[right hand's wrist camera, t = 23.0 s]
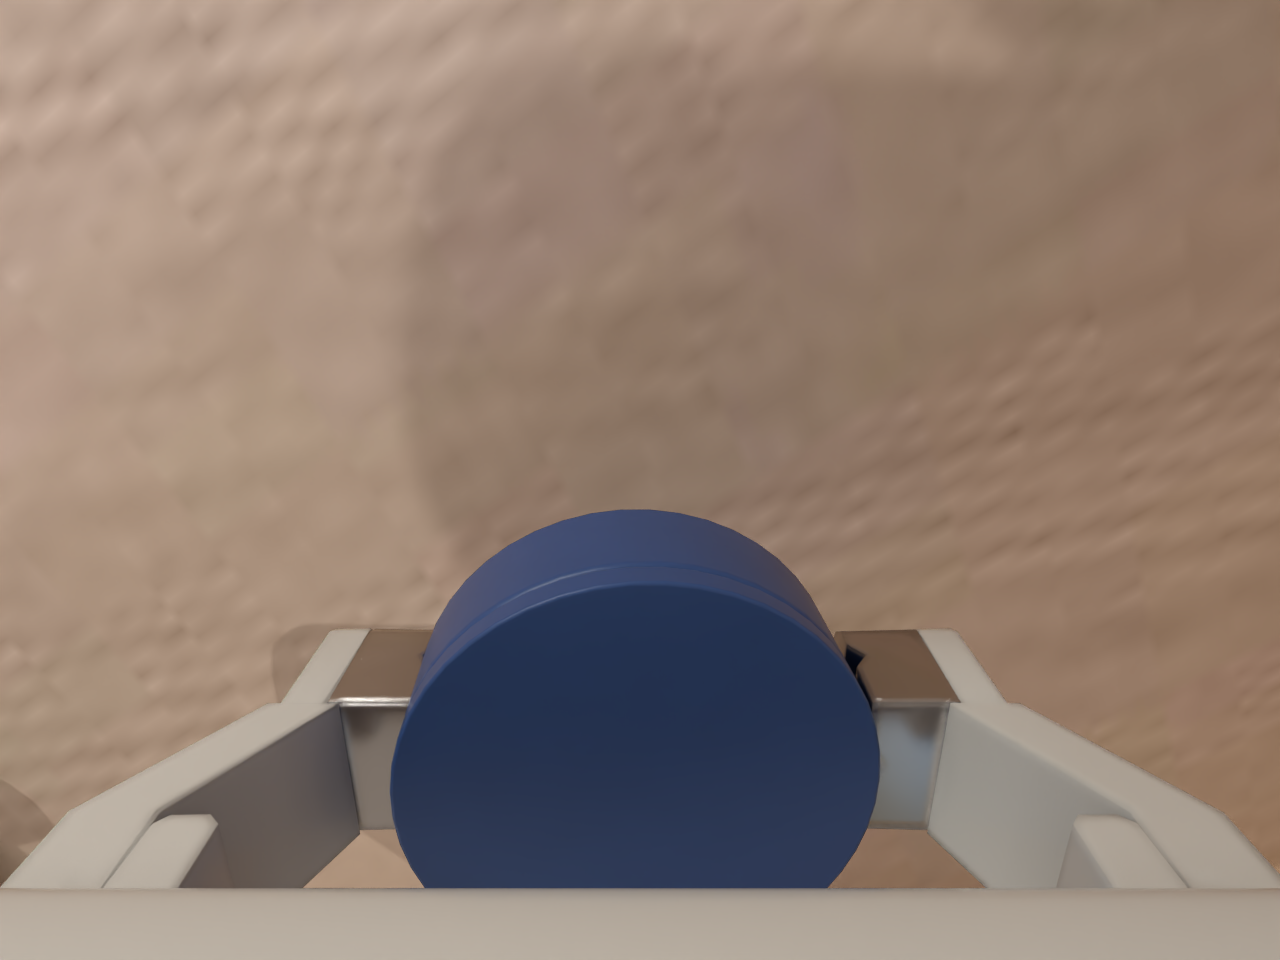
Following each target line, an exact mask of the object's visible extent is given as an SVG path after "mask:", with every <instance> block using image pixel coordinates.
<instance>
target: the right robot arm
mask: <svg viewBox="0 0 1280 960" xmlns="http://www.w3.org/2000/svg"><path fill="white" fill-rule="evenodd" d="M432 633H433V630H405V629H374V630H373V629H371V628H364V629H335V630H332V631H330V632H329V633H328V634H327V636H326V637H325V639H324V640H323V641H322V643H321V644H320V646H319V647H318V649H317V650H316V652H315V653H314V655H313V656H312V658H311V659H310V661H309V662H308V663H307V665H306V666H305V668H304V669H303V671H302V672H301V674H300V675H299V677H298V678H297V680H296V681H295V683H294V684H293V685H292V687H291V688H290V690H289V691H288V693H287V694H286V696H285V697H284V699H283V700H282V702H281V703H268V704H266V705H264V706H262V707H260V708H259V709H257V710H255V711H253V712H251V713H249V714H247V715H246V716H244V717H242V718H240V719H238V720H236V721H234V722H233V723H231V724H229V725H227V726H225V727H223V728H222V729H220V730H218V731H216V732H214V733H212V734H210V735H209V736H207V737H205V738H203V739H201V740H199V741H197V742H196V743H194V744H192V745H190V746H188V747H186V748H184V749H183V750H181V751H179V752H177V753H175V754H173V755H172V756H170V757H168V758H166V759H164V760H162V761H160V762H159V763H157V764H155V765H153V766H151V767H149V768H147V769H146V770H144V771H142V772H140V773H138V774H136V775H134V776H133V777H131V778H129V779H127V780H125V781H123V782H121V783H120V784H118V785H116V786H114V787H112V788H110V789H109V790H107V791H105V792H103V793H101V794H99V795H97V796H96V797H94V798H92V799H90V800H88V801H86V802H84V803H83V804H81V805H79V806H77V807H75V808H73V809H71V810H70V811H68V812H67V813H66V814H65V815H64V817H63V818H62V819H61V820H60V821H59V822H58V823H57V824H56V825H55V827H54V828H53V829H52V830H51V831H50V832H49V833H48V834H47V835H46V837H45V838H44V839H43V840H42V841H41V842H40V843H39V844H38V846H37V847H36V848H35V849H34V850H33V851H32V852H31V853H30V854H29V856H28V857H27V858H26V859H25V860H24V861H23V862H22V863H21V864H20V866H19V867H18V868H17V869H16V870H15V871H14V872H13V873H12V874H11V876H10V877H9V878H8V879H7V880H6V881H5V882H4V883H3V884H2V886H1V887H0V960H1280V874H1279V873H1278V872H1277V871H1276V870H1275V869H1274V867H1273V866H1272V865H1271V864H1270V863H1269V862H1268V861H1267V860H1266V859H1265V858H1264V856H1263V855H1262V854H1261V853H1260V852H1259V851H1258V850H1257V849H1256V848H1255V847H1254V845H1253V844H1252V843H1251V842H1250V841H1249V840H1248V839H1247V838H1246V837H1245V836H1244V834H1243V833H1242V832H1241V831H1240V830H1239V829H1238V828H1237V827H1236V826H1235V824H1234V823H1233V822H1232V821H1231V820H1230V819H1229V818H1228V817H1227V816H1226V815H1225V813H1224V812H1222V811H1220V810H1218V809H1216V808H1214V807H1213V806H1211V805H1209V804H1207V803H1205V802H1203V801H1201V800H1199V799H1198V798H1196V797H1194V796H1192V795H1190V794H1188V793H1186V792H1185V791H1183V790H1181V789H1179V788H1177V787H1175V786H1173V785H1171V784H1170V783H1168V782H1166V781H1164V780H1162V779H1160V778H1158V777H1157V776H1155V775H1153V774H1151V773H1149V772H1147V771H1145V770H1144V769H1142V768H1140V767H1138V766H1136V765H1134V764H1132V763H1130V762H1129V761H1127V760H1125V759H1123V758H1121V757H1119V756H1117V755H1116V754H1114V753H1112V752H1110V751H1108V750H1106V749H1104V748H1102V747H1101V746H1099V745H1097V744H1095V743H1093V742H1091V741H1089V740H1088V739H1086V738H1084V737H1082V736H1080V735H1078V734H1076V733H1075V732H1073V731H1071V730H1069V729H1067V728H1065V727H1063V726H1061V725H1060V724H1058V723H1056V722H1054V721H1052V720H1050V719H1048V718H1047V717H1045V716H1043V715H1041V714H1039V713H1037V712H1035V711H1034V710H1032V709H1030V708H1028V707H1026V706H1024V705H1022V704H1020V703H1007V701H1006V700H1005V698H1004V697H1003V696H1002V694H1001V693H1000V691H999V690H998V689H997V687H996V686H995V684H994V683H993V681H992V680H991V679H990V677H989V676H988V674H987V673H986V672H985V670H984V669H983V667H982V666H981V664H980V663H979V662H978V660H977V659H976V657H975V656H974V655H973V653H972V652H971V650H970V649H969V647H968V646H967V645H966V643H965V642H964V640H963V639H962V637H961V636H960V635H959V633H958V632H957V631H955V630H953V629H951V628H939V629H913V630H879V631H840V632H835V635H834V640H835V642H836V643H837V645H838V647H839V649H840V651H841V652H842V654H843V656H844V658H845V660H846V662H847V663H848V665H849V667H850V669H851V671H852V672H853V674H854V676H855V678H856V680H857V682H858V683H859V685H860V687H861V689H862V691H863V693H864V695H865V697H866V699H867V700H868V703H869V706H870V709H871V712H872V715H873V718H874V721H875V724H876V727H877V734H878V740H879V747H880V781H879V786H878V792H877V798H876V804H875V807H874V810H873V813H872V816H871V819H870V822H869V825H868V828H874V829H911V830H928V832H927V833H928V834H929V835H930V836H931V837H932V838H933V839H934V840H935V841H936V842H937V843H938V844H939V845H941V846H942V847H943V848H944V849H945V850H946V851H947V852H948V853H949V854H950V855H951V856H952V857H953V858H954V859H956V860H957V861H958V862H959V863H960V864H961V865H962V866H963V867H964V868H965V869H966V870H967V871H968V872H969V873H971V874H972V875H973V876H974V877H975V878H976V879H977V880H978V881H979V882H980V883H981V884H982V885H983V886H984V887H986V888H303V887H304V886H305V885H306V884H307V883H308V882H309V881H310V880H312V879H313V878H314V877H315V876H316V875H317V874H318V873H319V872H320V871H321V870H322V869H323V868H324V867H325V866H326V865H327V864H329V863H330V862H331V861H332V860H333V859H334V858H335V857H336V856H337V855H338V854H339V853H340V852H341V851H342V850H343V849H345V848H346V847H347V846H348V845H349V844H350V843H351V842H352V841H353V840H354V839H355V838H356V837H357V836H358V835H359V834H360V830H376V829H396V828H395V825H394V821H393V818H392V809H391V800H390V777H391V764H392V760H393V755H394V751H395V747H396V742H397V738H398V735H399V732H400V729H401V726H402V723H403V720H404V718H405V714H406V710H407V707H408V704H409V701H410V698H411V695H412V692H413V689H414V685H415V682H416V679H417V676H418V673H419V670H420V667H421V664H422V660H423V657H424V654H425V651H426V648H427V645H428V643H429V640H430V638H431V635H432Z"/></svg>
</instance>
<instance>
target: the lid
mask: <svg viewBox="0 0 1280 960" xmlns="http://www.w3.org/2000/svg"><path fill="white" fill-rule="evenodd" d="M879 781H880V747H879V740H878V734H877V727H876V724H875V721H874V718H873V715H872V712H871V709H870V706H869V703H868V700H867V699H866V697H865V695H864V693H863V691H862V689H861V687H860V685H859V683H858V682H857V680H856V678H855V676H854V674H853V672H852V671H851V669H850V667H849V665H848V663H847V662H846V660H845V658H844V656H843V654H842V652H841V651H840V649H839V647H838V645H837V643H836V642H835V640H834V638H833V636H832V634H831V632H830V631H829V629H828V627H827V625H826V623H825V622H824V620H823V618H822V616H821V614H820V613H819V611H818V609H817V607H816V605H815V603H814V602H813V600H812V598H811V596H810V595H809V593H808V592H807V591H806V589H805V588H804V587H803V585H802V584H801V583H800V581H799V580H798V579H797V577H796V576H795V575H794V574H793V573H792V572H791V571H790V570H789V569H788V568H787V567H786V566H785V565H784V564H783V563H782V562H781V561H780V560H779V559H778V558H776V557H775V556H774V555H772V554H771V553H770V552H768V551H767V550H766V549H764V548H763V547H762V546H760V545H759V544H758V543H756V542H754V541H752V540H751V539H749V538H747V537H745V536H743V535H741V534H740V533H738V532H736V531H734V530H732V529H729V528H727V527H724V526H722V525H719V524H716V523H714V522H711V521H709V520H705V519H701V518H697V517H693V516H689V515H685V514H681V513H674V512H665V511H657V510H615V511H607V512H599V513H591V514H587V515H583V516H579V517H575V518H571V519H567V520H563V521H560V522H558V523H555V524H553V525H550V526H547V527H545V528H542V529H540V530H537V531H534V532H533V533H531V534H529V535H527V536H525V537H523V538H521V539H519V540H518V541H516V542H514V543H512V544H510V545H509V546H507V547H506V548H504V549H503V550H501V551H500V552H499V553H497V554H496V555H494V556H493V557H492V558H490V559H489V560H487V561H486V562H485V563H484V564H483V565H482V566H481V567H480V568H479V569H478V570H476V571H475V572H474V573H473V574H472V575H471V576H470V577H469V578H468V579H467V580H466V581H465V582H464V583H463V585H462V586H461V587H460V588H459V590H458V591H457V592H456V593H455V595H454V596H453V597H452V598H451V600H450V601H449V603H448V604H447V606H446V608H445V609H444V611H443V613H442V614H441V616H440V618H439V619H438V621H437V623H436V625H435V628H434V630H433V633H432V635H431V638H430V640H429V643H428V645H427V648H426V651H425V654H424V657H423V660H422V664H421V667H420V670H419V673H418V676H417V679H416V682H415V685H414V689H413V692H412V695H411V698H410V701H409V704H408V707H407V710H406V714H405V718H404V720H403V723H402V726H401V729H400V732H399V735H398V738H397V742H396V747H395V751H394V755H393V760H392V764H391V777H390V800H391V809H392V818H393V821H394V825H395V828H396V832H397V835H398V839H399V842H400V845H401V847H402V850H403V852H404V854H405V856H406V858H407V860H408V862H409V864H410V867H411V868H412V870H413V871H414V873H415V874H416V876H417V877H418V879H419V880H420V882H421V883H422V885H423V886H424V888H828V887H829V885H830V884H831V883H832V882H833V881H834V880H835V879H836V877H837V876H838V875H839V874H840V873H841V872H842V870H843V869H844V867H845V866H846V864H847V863H848V862H849V860H850V859H851V857H852V856H853V854H854V853H855V851H856V850H857V848H858V846H859V844H860V842H861V840H862V838H863V836H864V834H865V832H866V830H867V828H868V825H869V822H870V819H871V816H872V813H873V810H874V807H875V804H876V798H877V792H878V786H879Z"/></svg>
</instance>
